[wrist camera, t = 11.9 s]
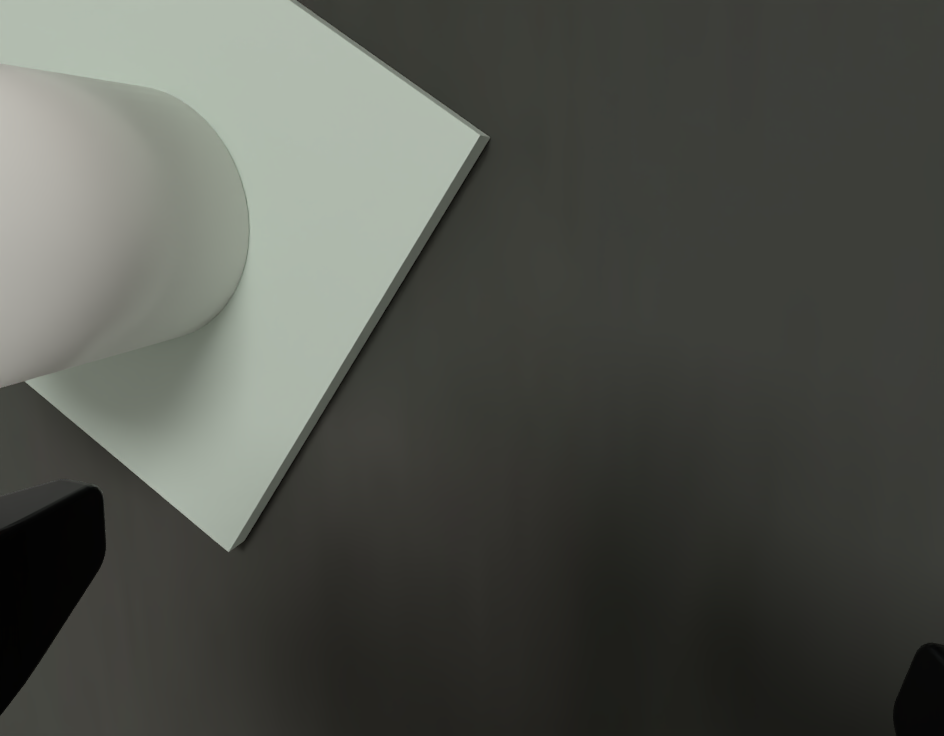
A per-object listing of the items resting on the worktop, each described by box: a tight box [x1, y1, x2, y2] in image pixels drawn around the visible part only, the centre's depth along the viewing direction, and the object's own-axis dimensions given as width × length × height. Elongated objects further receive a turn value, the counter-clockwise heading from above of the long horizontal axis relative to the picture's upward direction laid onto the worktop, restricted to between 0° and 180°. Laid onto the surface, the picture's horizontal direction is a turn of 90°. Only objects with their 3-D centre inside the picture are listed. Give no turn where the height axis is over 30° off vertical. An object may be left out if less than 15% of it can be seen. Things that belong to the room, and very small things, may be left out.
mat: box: [0, 0, 490, 552], centre depth 21 cm, size 14×14×1 cm
